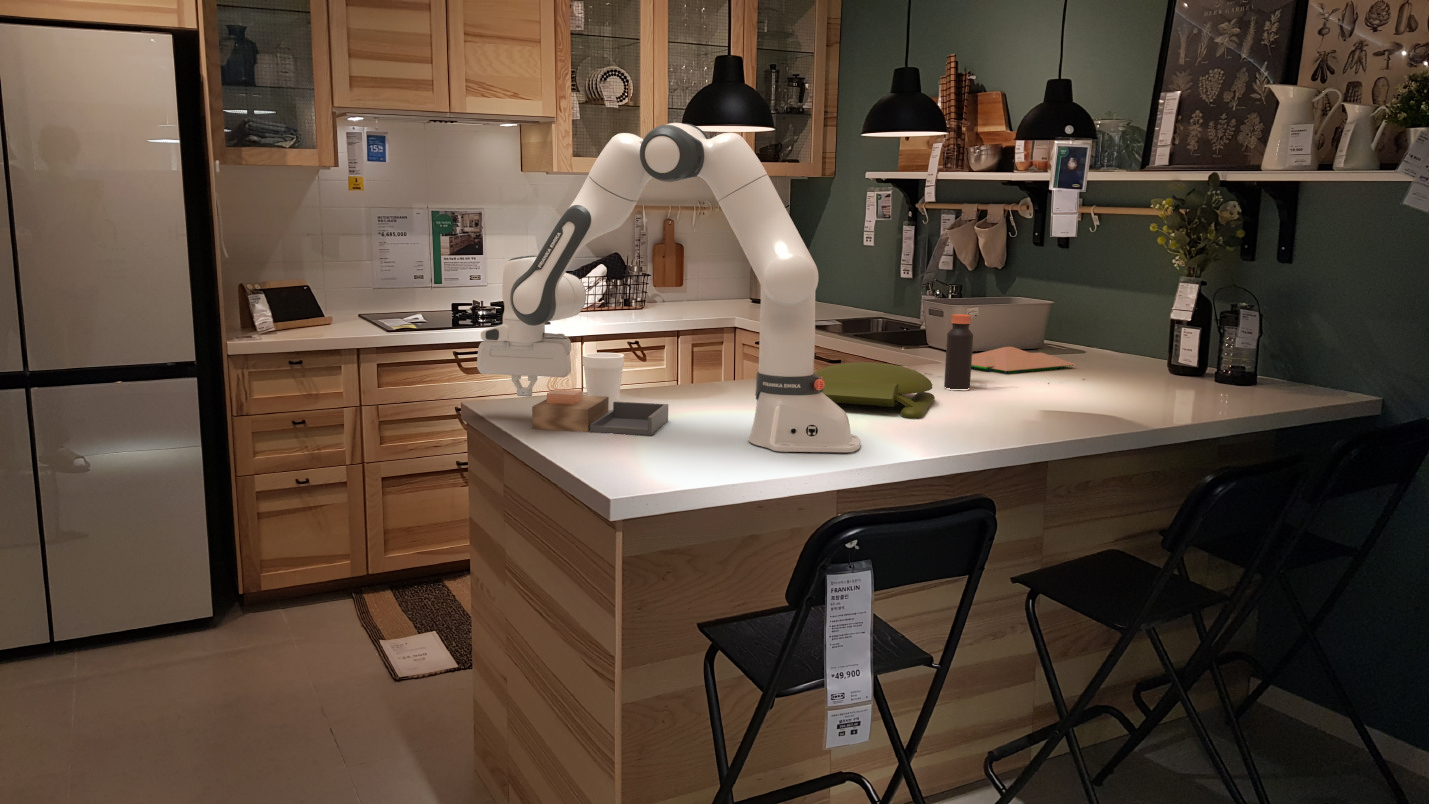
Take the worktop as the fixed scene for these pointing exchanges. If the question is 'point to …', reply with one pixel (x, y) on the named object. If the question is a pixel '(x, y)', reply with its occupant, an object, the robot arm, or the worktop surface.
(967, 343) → the bottle
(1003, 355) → the tan and green mat
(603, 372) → the foam cup
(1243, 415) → the worktop surface
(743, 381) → the worktop surface
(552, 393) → the terracotta tile
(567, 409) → the walnut platform
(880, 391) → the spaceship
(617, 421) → the box
